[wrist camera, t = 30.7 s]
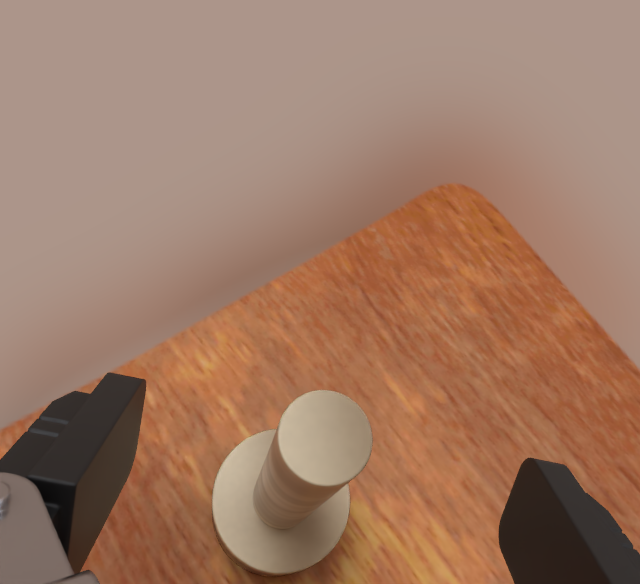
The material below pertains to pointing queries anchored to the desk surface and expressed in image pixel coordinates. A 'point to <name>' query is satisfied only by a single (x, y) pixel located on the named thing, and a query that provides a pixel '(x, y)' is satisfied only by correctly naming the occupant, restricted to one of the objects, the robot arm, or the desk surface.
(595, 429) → the desk surface
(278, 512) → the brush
